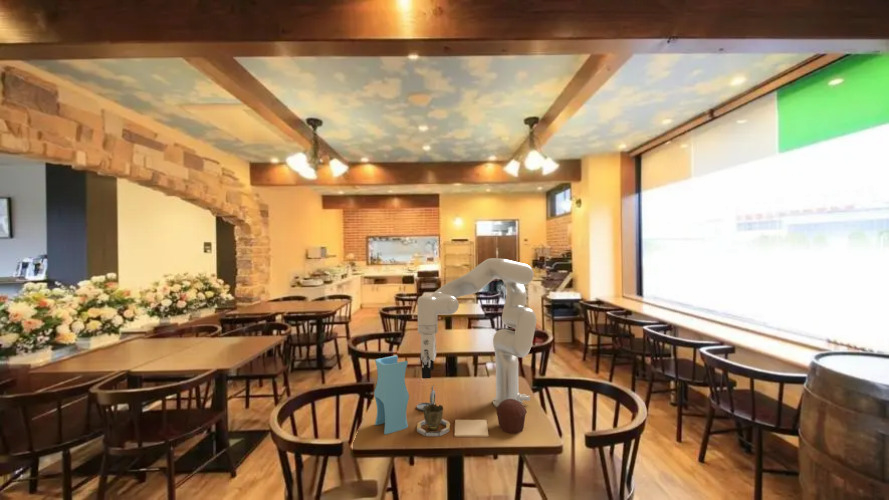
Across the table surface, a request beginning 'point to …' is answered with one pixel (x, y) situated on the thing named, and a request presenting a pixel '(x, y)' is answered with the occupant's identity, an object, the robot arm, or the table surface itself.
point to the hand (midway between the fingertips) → (428, 373)
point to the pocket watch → (432, 400)
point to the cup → (433, 415)
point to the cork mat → (471, 428)
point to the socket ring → (433, 433)
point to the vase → (391, 394)
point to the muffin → (511, 416)
